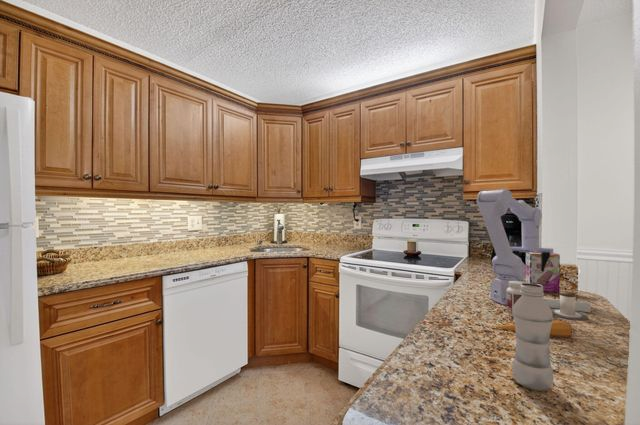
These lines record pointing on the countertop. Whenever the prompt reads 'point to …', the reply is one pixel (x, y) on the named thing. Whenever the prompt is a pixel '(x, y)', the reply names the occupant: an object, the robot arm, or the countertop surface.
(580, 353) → the countertop surface
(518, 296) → the pill bottle
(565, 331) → the carrot
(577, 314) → the ring mat
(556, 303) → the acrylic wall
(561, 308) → the spice jar
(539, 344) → the plastic bottle
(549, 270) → the candy bar box
